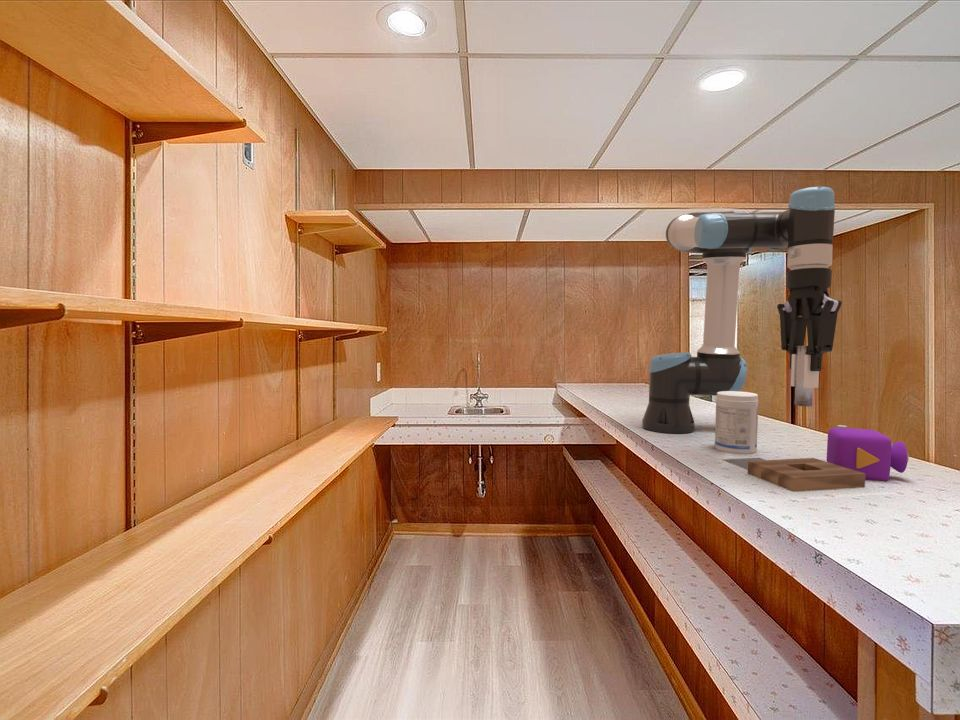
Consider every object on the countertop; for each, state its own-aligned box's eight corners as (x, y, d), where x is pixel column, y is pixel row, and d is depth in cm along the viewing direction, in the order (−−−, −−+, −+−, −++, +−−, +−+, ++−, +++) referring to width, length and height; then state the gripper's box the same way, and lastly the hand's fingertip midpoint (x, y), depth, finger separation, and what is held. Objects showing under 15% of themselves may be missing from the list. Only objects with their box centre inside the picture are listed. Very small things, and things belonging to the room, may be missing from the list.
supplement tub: (728, 445, 134) (730, 389, 133) (764, 452, 126) (767, 394, 125) (706, 449, 129) (708, 392, 128) (742, 457, 121) (744, 396, 120)
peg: (791, 404, 103) (793, 345, 102) (803, 404, 103) (805, 345, 103) (803, 406, 100) (805, 345, 99) (816, 406, 100) (818, 345, 100)
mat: (721, 461, 117) (721, 459, 117) (759, 459, 119) (759, 457, 119) (759, 476, 106) (759, 474, 106) (800, 473, 108) (800, 471, 108)
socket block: (747, 475, 106) (748, 461, 106) (812, 471, 109) (813, 457, 109) (793, 493, 94) (794, 477, 94) (864, 488, 98) (865, 473, 97)
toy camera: (919, 486, 100) (922, 436, 99) (841, 481, 102) (844, 432, 102) (887, 471, 110) (889, 425, 110) (817, 467, 113) (819, 423, 112)
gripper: (763, 272, 107) (759, 383, 108) (826, 262, 92) (821, 391, 93) (794, 274, 108) (789, 383, 110) (861, 264, 93) (855, 391, 94)
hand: (804, 386), depth 101 cm, fingers closed on peg, 2 cm apart
